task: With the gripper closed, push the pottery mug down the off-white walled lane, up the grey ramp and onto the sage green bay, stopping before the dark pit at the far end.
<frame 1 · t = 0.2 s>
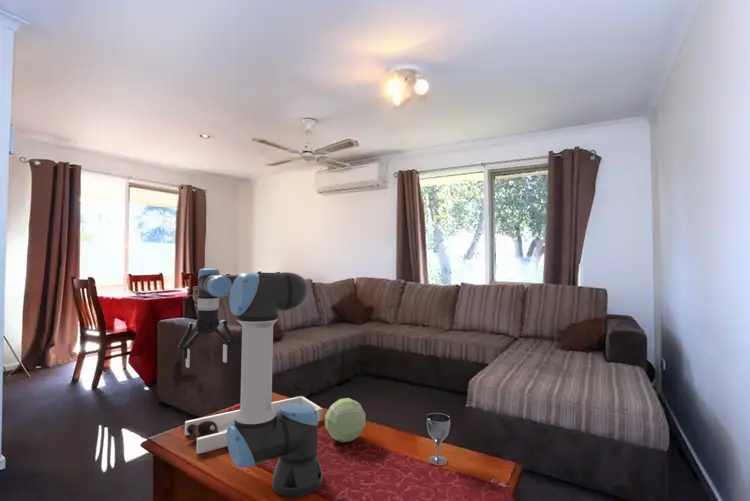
hand: (206, 364, 154), 27 cm above the table, tool pointing down, fingers open, 13 cm apart
tennis ball: (345, 440, 153), on the table
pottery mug: (202, 441, 150), on the table
wine glass: (437, 461, 138), on the table
trap lane: (256, 427, 162), on the table
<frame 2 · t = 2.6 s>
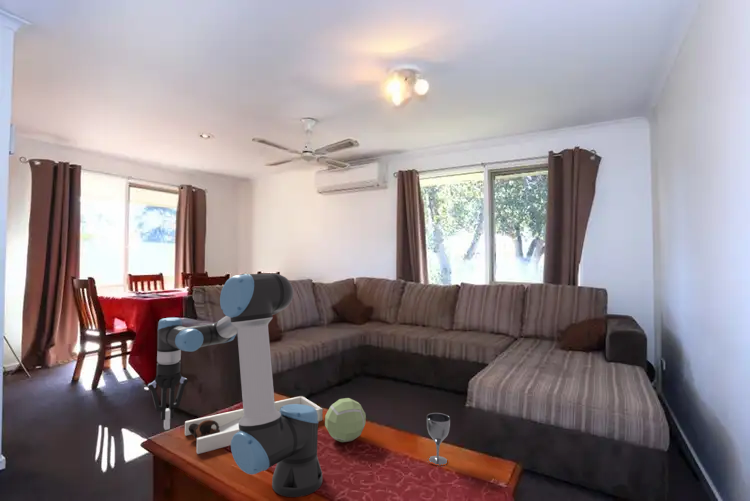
hand: (166, 428, 143), 8 cm above the table, tool pointing down, fingers closed
nothing on the table moved.
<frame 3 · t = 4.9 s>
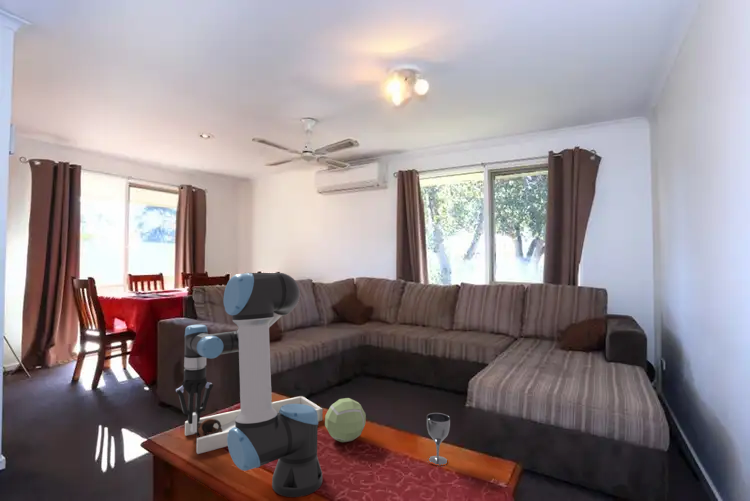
hand: (193, 431, 148), 4 cm above the table, tool pointing down, fingers closed
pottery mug: (206, 439, 151), on the table, touching gripper
everything else where it was.
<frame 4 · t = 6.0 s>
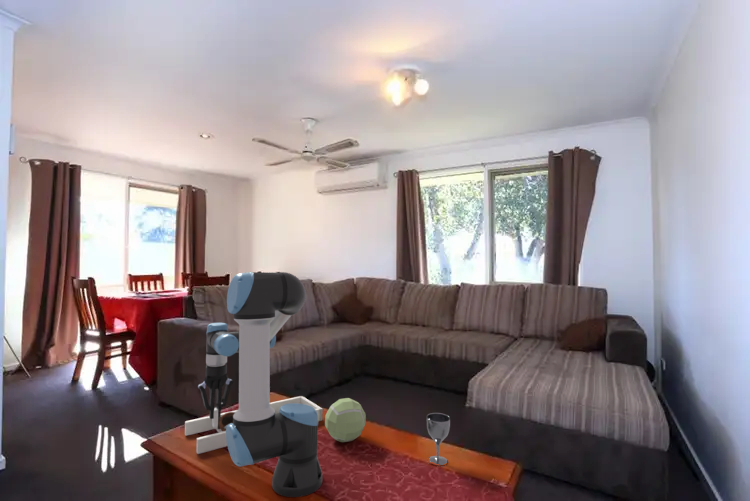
hand: (214, 426, 152), 4 cm above the table, tool pointing down, fingers closed
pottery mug: (227, 431, 157), point 1 cm above the table, touching gripper
everything else where it was.
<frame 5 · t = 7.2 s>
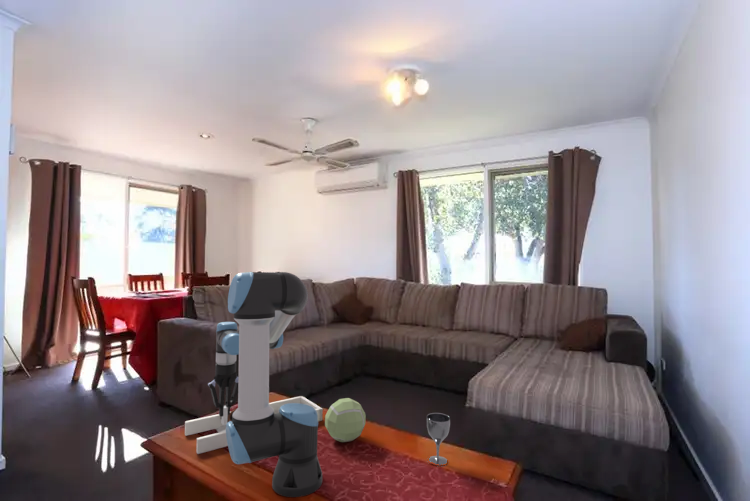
hand: (224, 423, 155), 4 cm above the table, tool pointing down, fingers closed
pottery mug: (236, 427, 159), point 1 cm above the table, touching gripper, trap lane
everything else where it was.
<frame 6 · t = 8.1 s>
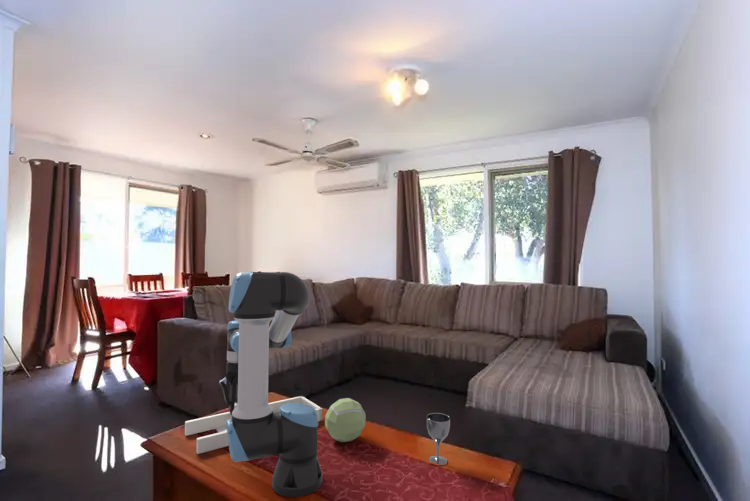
hand: (234, 420, 157), 5 cm above the table, tool pointing down, fingers closed
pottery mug: (243, 423, 162), point 2 cm above the table, touching gripper
everything else where it was.
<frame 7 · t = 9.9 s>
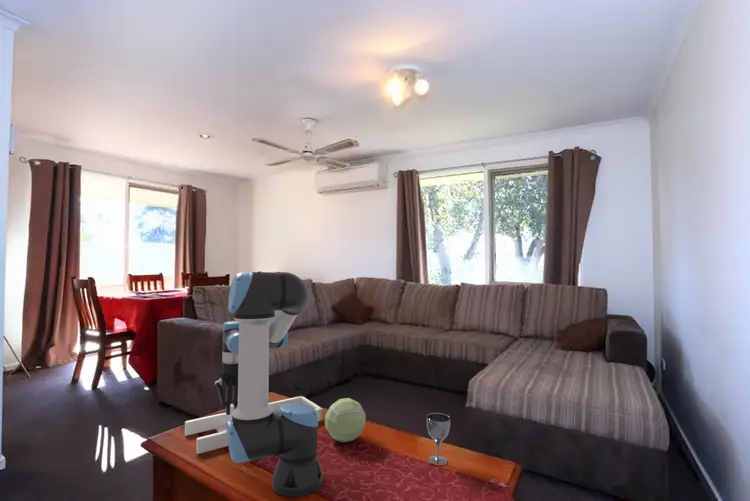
hand: (230, 422, 156), 4 cm above the table, tool pointing down, fingers closed
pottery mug: (251, 420, 164), point 2 cm above the table, touching trap lane
everything else where it was.
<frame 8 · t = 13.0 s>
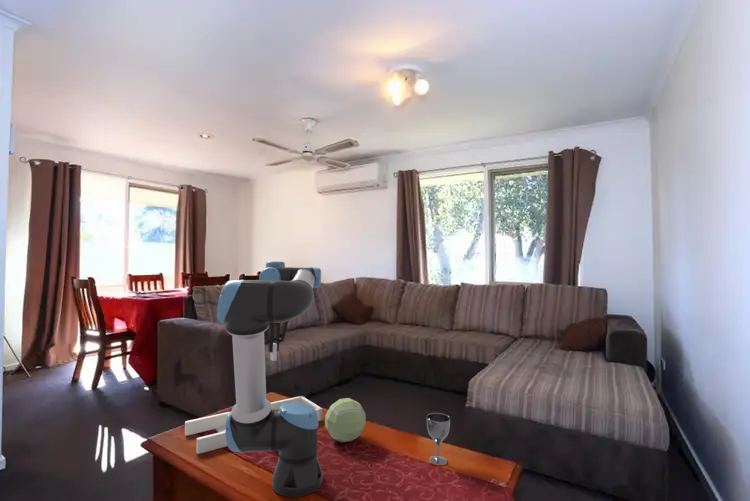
hand: (273, 359, 158), 28 cm above the table, tool pointing down, fingers closed
nothing on the table moved.
at the end: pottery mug inside the target area (4.6 cm from its centre), point 1.8 cm above the table; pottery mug tilted 0° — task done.
